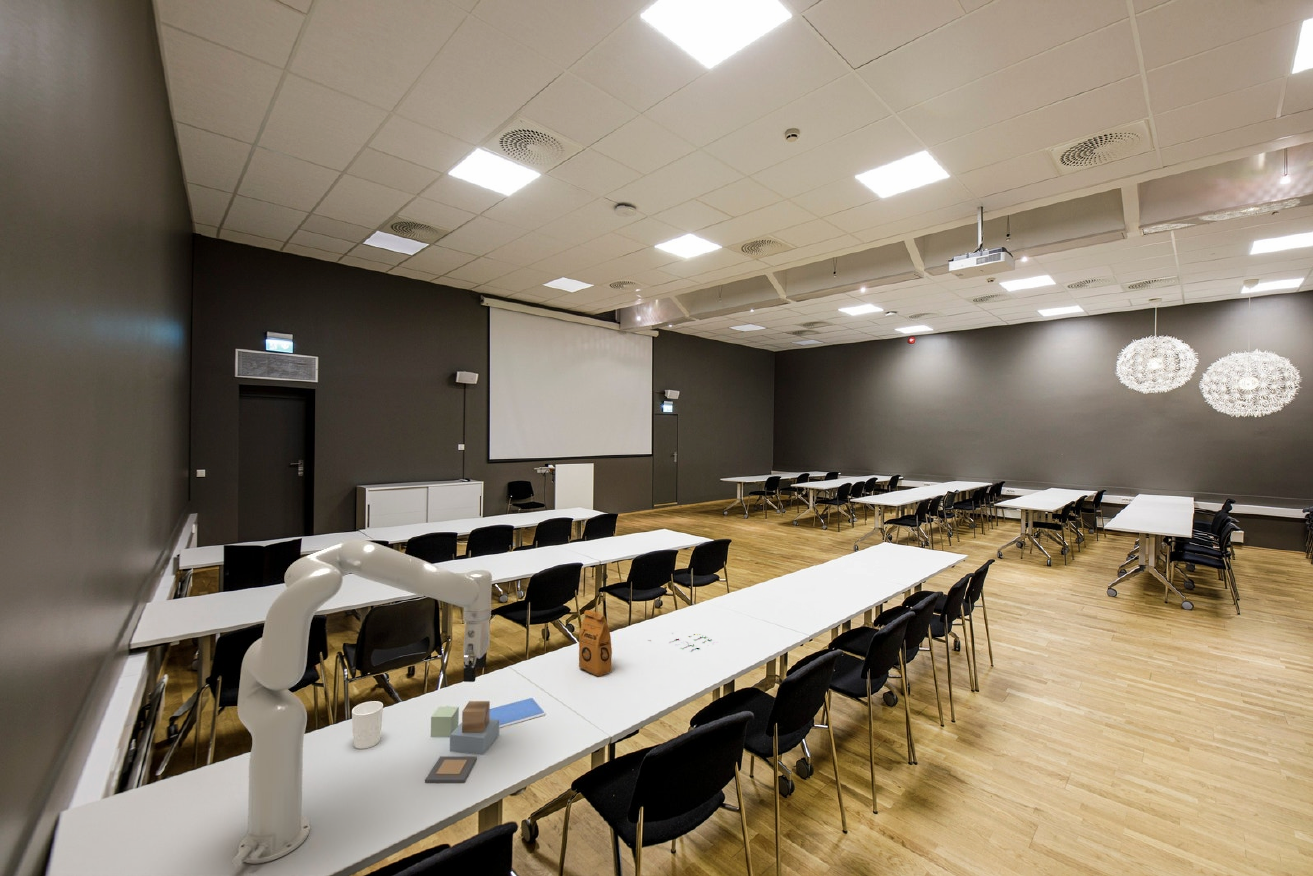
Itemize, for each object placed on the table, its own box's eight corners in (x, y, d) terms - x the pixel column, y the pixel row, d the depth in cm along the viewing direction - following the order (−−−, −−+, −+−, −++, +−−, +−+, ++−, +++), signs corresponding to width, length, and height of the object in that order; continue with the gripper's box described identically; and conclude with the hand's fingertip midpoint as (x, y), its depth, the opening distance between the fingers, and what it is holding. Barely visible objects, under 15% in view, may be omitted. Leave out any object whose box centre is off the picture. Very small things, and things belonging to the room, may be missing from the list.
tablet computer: (484, 734, 160) (484, 730, 160) (474, 715, 170) (474, 711, 170) (546, 717, 170) (546, 713, 170) (532, 700, 181) (532, 696, 181)
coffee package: (595, 679, 196) (595, 619, 196) (575, 669, 205) (576, 611, 205) (615, 672, 203) (616, 614, 203) (595, 661, 212) (596, 606, 212)
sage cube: (451, 737, 157) (451, 717, 157) (430, 737, 157) (431, 716, 157) (458, 726, 163) (458, 706, 163) (438, 726, 163) (438, 706, 163)
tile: (464, 783, 136) (464, 778, 136) (424, 782, 136) (425, 778, 136) (476, 759, 146) (476, 755, 146) (440, 759, 146) (440, 755, 146)
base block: (483, 756, 148) (483, 738, 148) (449, 752, 150) (450, 734, 150) (498, 736, 158) (499, 719, 158) (467, 733, 160) (467, 716, 160)
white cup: (347, 752, 149) (348, 716, 149) (355, 737, 156) (356, 702, 156) (378, 748, 151) (379, 712, 151) (385, 733, 158) (385, 699, 158)
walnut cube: (483, 732, 151) (483, 711, 151) (462, 732, 151) (462, 711, 151) (489, 721, 157) (489, 701, 157) (468, 721, 157) (469, 701, 157)
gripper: (480, 624, 146) (478, 687, 145) (498, 606, 163) (496, 662, 163) (453, 624, 145) (450, 687, 145) (473, 605, 163) (471, 661, 162)
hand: (475, 674), depth 154 cm, fingers open, 9 cm apart
